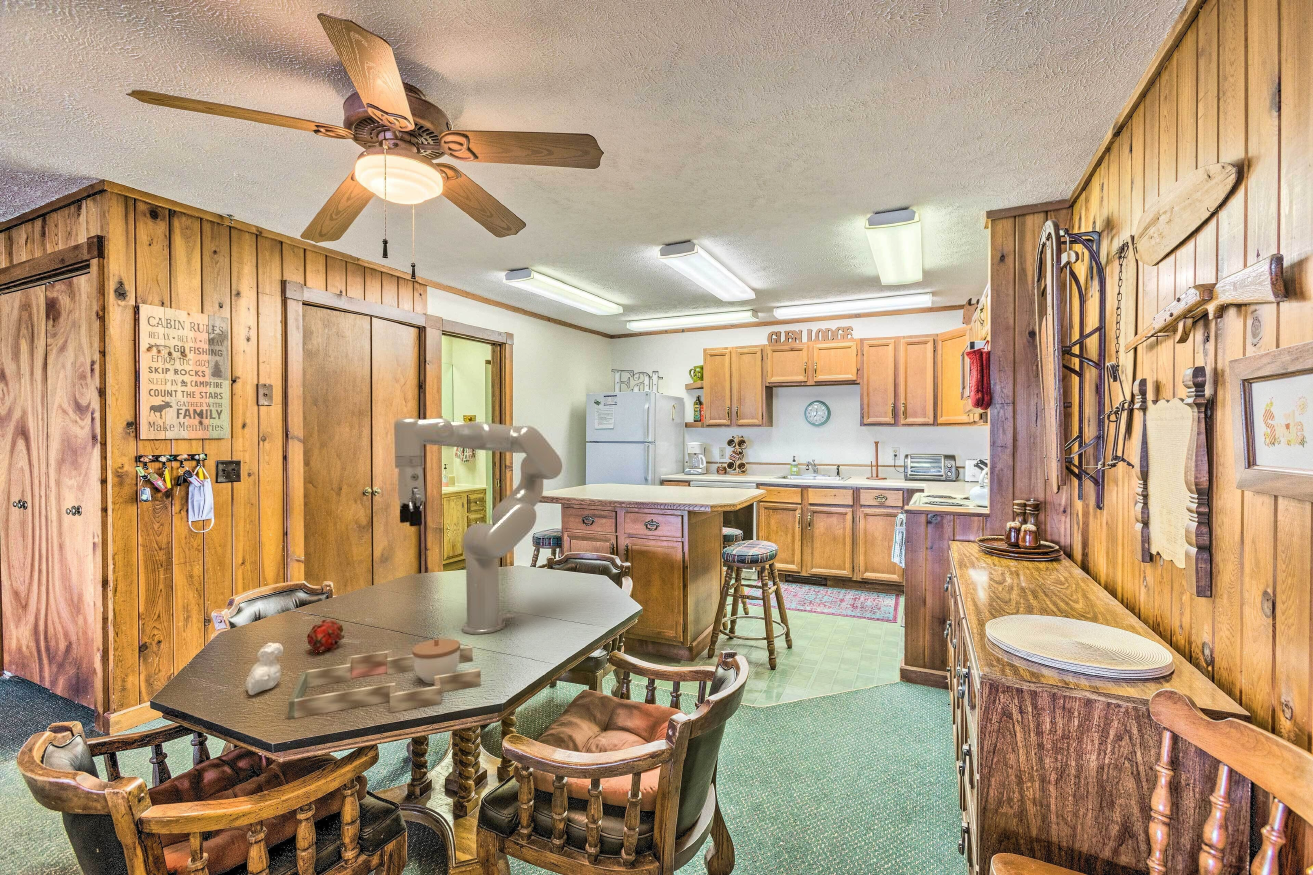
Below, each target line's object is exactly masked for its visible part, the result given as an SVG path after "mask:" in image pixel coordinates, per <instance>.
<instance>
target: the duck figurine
mask: <svg viewBox="0 0 1313 875" xmlns="http://www.w3.org/2000/svg"><path fill="white" fill-rule="evenodd" d="M283 654H284V647H283V645H282V644H281V643H279V642H270V641H269V642H268V643H267V644H265V645H264V646H263V647H261V648H260V649H259V652H257V655H256V656H257V658H258V659H259V661H257V662H256V664H254V665H253V666H252V668H251V669H250V672H249V674H248V676H247V678H246V681H245V687H246V689H247V693H248V695H250V696H254V695H256V694H258V693H261V692H264V691H267V690H269V689H272V688H274V687H275V686H276V684H278V682H279V681H280V678H281V675H282V670H281V665H280V664H279V663H278V662H277V660H276V658H277V657H281V656H282V655H283Z"/></svg>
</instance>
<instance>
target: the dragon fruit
mask: <svg viewBox="0 0 1313 875" xmlns="http://www.w3.org/2000/svg"><path fill="white" fill-rule="evenodd" d="M343 632H344V627H343V625H342V623H340V622H337V620H336V619H330V620H329V621H327V619H323V620H321V623H320V624H319V623H318V624H314V625H313V626H312V627H311V629H310V631H309V632H308V634H307V635H306V640H307V645H308V646H309V647H310V648H311V649H312V650H314V654H316V655H317V654H319V653H318V652H320V651H323V652H325V651H326V650H328V649H330V648H331V649H333V650H334V649H336V648H337V647H338V645H339V643H340V642H341V641H342V640H344V639H345V637H346V636H345V635H344V634H342V633H343ZM331 649H330V650H331ZM316 651H317V652H316Z"/></svg>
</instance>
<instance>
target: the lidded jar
mask: <svg viewBox="0 0 1313 875" xmlns="http://www.w3.org/2000/svg"><path fill="white" fill-rule="evenodd" d="M460 648H461V642H460V641H459V640H457V639H453V638H434V639H430V640H426V641H423V642H420V643H418V644H417V645H415V646H413V647H412V650H411V651H412V652H411V653H412V654H411V655H413V663H414V668H415V670H414V672H415V673H416V675H417V676H418V677H419V679H421V680H422V681H423V682H424V683H426V684H430V685H431V684H433V685H434V676H439V675H445V674H451V673H456V672H455V671H456V670H457V668H458V666H459V664H460V663H459V657H460Z"/></svg>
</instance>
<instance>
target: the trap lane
mask: <svg viewBox="0 0 1313 875" xmlns="http://www.w3.org/2000/svg"><path fill="white" fill-rule="evenodd" d="M473 650H474V648H473V646H472V645H470V646H464V647H460V657H459V663H458V664H461V663H469V662H474V660H473V656H474V654H473V652H474V651H473ZM412 671H415V668H414V663H413V654H411V655H410V654H409V655H403V656H397V657H393V650H385V651H377V652H371V653H366V654H365V653H364V654H359V655H351V656H347V660H346V663H345V664H343V665H336V666H329V667H324V668H316V669H308V670H304V671H302V672H301V673H300V676H299V677H298V680H297V683H296V685H295V687H294V690H293V692H292V694H291V695H290V698H289V701H288V720H290V719H291V720H292V719H297V718H301V717H303V718H304V717H308V716H314V715H315V716H316V715H320V714H327V713H331V712H336V711H343V710H348V709H354V708H359V707H366V706H372V705H377V704H378V705H379V704H383V703H389V714H390V713H396V712H402V711H405V710H406V711H407V710H412V709H417V708H422V707H428V706H434V705H440V704H442V693H446V692H452V691H458V690H462V689H463V690H464V689H467V688H468V689H469V688H473V687H474V688H475V687H479V686H481V685H482V682H481V681H482V680H481V676H482V675H481V674H482V673H481V668H477V669H469V670H465V671H458V672H454V673H451V674H445V675H439V676H434V684H433V686H429V687H423V688H418V689H410V690H406V691H399V692H396V682H391V683H386V684H380V685H379V684H378V685H373V686H366V687H362V688H355V689H349V690H342V691H337V692H330V693H325V694H319V695H313V696H307V697H305V696H304V695H305V693H306V690H307V688H310V687H317V686H323V685H330V684H335V683H336V682H337V683H341V682H342V683H343V682H348V681H351V680H353V679H358V678H364V677H363V676H366V677H370V676H369V675H372V676H376V675H378V676H379V675H383V674H386V675H393V674H398V673H405V672H412Z"/></svg>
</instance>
